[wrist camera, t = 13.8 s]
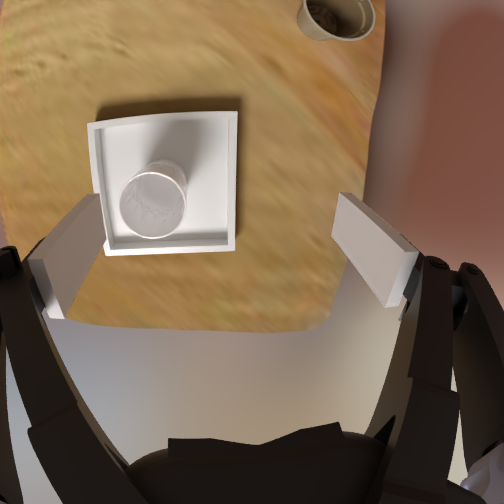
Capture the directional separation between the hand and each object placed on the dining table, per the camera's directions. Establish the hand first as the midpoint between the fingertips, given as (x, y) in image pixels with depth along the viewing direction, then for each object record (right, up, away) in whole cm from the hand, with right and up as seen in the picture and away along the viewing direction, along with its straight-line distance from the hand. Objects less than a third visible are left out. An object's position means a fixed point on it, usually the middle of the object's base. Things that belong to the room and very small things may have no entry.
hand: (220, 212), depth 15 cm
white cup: (-11, +8, +24) cm, 27 cm away
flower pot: (+11, +31, +15) cm, 36 cm away
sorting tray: (-11, +8, +24) cm, 28 cm away
